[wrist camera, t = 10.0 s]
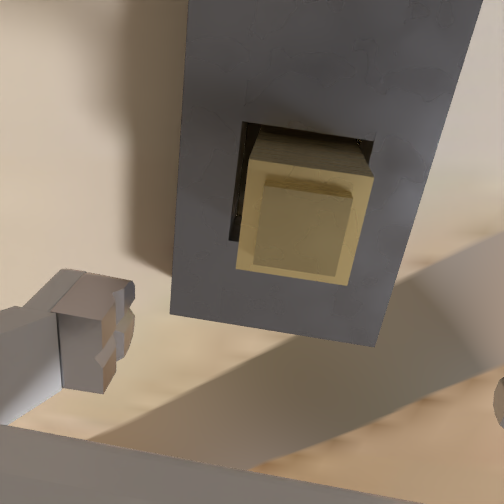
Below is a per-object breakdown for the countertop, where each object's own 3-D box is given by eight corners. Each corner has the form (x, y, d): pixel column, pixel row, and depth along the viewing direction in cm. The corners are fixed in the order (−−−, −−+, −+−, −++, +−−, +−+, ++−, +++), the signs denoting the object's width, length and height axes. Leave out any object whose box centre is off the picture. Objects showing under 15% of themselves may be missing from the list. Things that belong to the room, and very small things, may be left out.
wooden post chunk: (351, 132, 21) (377, 183, 14) (333, 214, 23) (349, 294, 16) (263, 119, 21) (247, 164, 14) (252, 202, 23) (233, 277, 16)
